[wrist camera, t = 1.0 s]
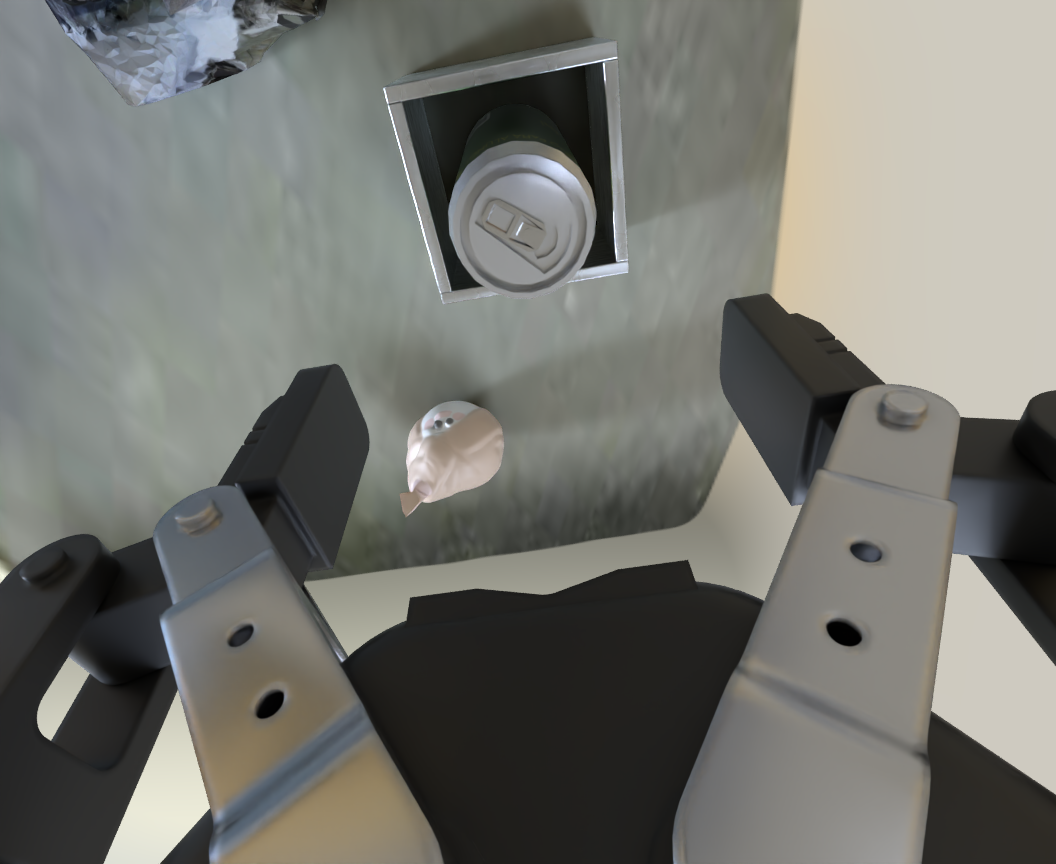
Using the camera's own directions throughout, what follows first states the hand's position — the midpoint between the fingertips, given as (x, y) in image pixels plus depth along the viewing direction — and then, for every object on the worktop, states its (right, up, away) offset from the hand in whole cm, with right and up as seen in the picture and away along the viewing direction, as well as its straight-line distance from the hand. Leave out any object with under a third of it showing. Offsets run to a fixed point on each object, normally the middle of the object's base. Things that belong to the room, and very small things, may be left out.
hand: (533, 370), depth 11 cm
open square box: (-1, +13, +17) cm, 21 cm away
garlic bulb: (-5, -1, +27) cm, 28 cm away
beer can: (-1, +13, +17) cm, 21 cm away
